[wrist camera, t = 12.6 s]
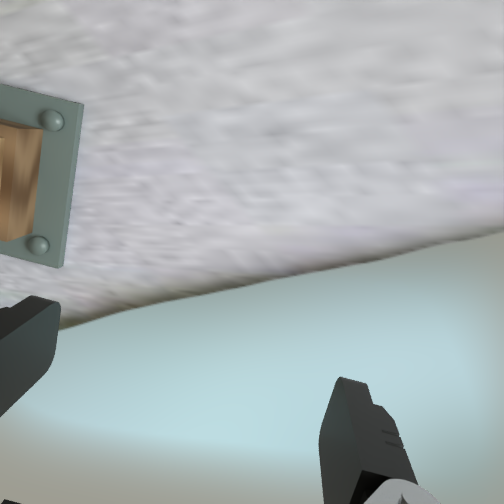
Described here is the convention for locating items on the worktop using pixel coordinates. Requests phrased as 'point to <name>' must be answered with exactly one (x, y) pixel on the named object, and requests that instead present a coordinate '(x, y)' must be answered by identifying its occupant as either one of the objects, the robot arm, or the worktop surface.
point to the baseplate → (46, 171)
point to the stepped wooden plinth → (18, 177)
